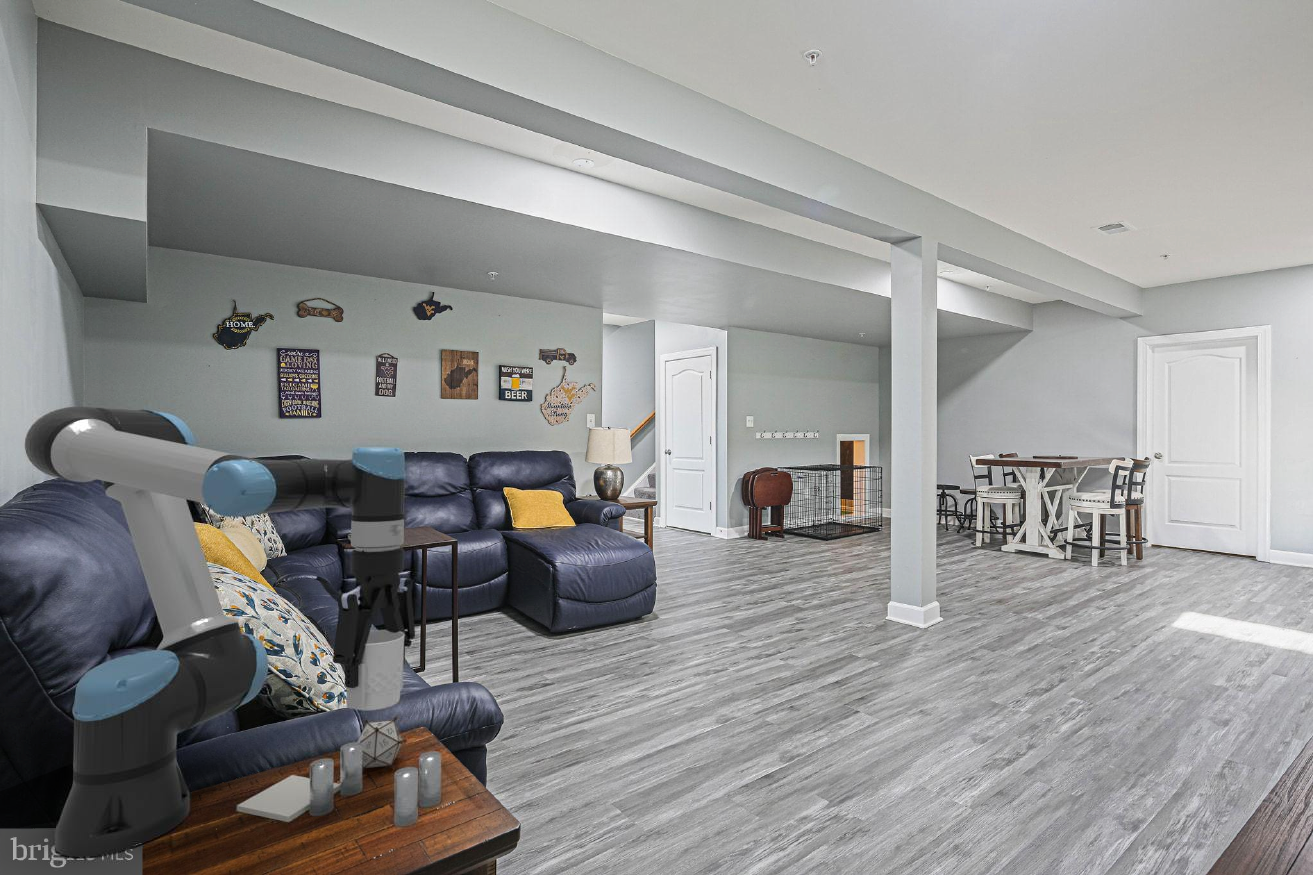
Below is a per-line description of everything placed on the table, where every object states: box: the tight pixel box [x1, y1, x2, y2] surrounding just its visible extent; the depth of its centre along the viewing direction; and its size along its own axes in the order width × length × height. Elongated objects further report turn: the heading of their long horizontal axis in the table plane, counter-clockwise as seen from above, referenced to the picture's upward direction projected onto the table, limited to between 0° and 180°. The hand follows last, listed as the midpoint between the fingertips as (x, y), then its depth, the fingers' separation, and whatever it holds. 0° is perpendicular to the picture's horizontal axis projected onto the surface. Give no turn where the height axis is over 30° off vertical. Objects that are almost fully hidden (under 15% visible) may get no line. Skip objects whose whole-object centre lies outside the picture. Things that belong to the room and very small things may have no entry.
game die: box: [356, 715, 408, 773], centre depth 114 cm, size 9×8×10 cm
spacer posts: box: [308, 741, 442, 828], centre depth 101 cm, size 17×10×7 cm, turn 72°
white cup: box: [353, 629, 405, 711], centre depth 102 cm, size 8×8×10 cm
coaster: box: [236, 774, 340, 823], centre depth 103 cm, size 10×10×1 cm
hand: (375, 697), depth 101 cm, fingers closed on white cup, 7 cm apart
